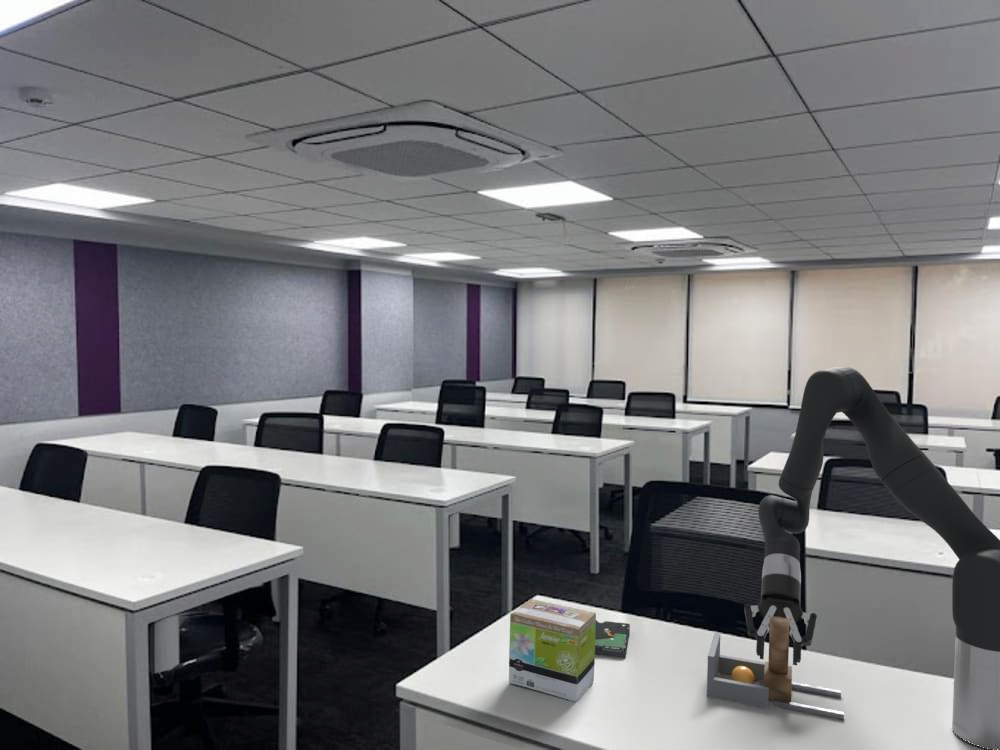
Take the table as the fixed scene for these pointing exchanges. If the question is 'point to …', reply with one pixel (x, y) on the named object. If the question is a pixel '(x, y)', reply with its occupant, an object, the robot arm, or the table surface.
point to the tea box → (552, 649)
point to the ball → (742, 675)
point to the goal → (729, 687)
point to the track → (811, 708)
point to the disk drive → (611, 639)
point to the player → (778, 661)
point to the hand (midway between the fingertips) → (778, 660)
